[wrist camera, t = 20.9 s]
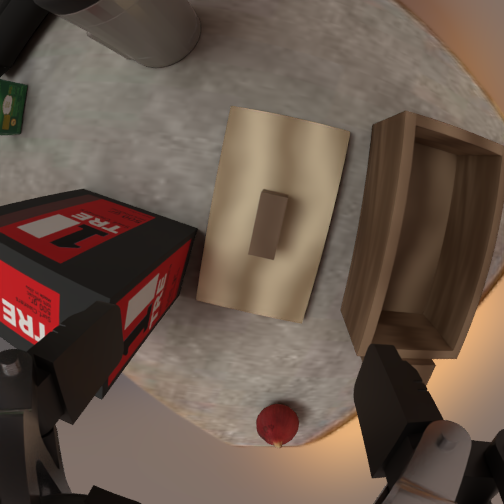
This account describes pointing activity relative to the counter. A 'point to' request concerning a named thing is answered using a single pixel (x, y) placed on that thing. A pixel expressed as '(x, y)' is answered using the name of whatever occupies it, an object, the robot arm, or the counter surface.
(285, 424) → the onion
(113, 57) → the counter surface
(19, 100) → the coffee box
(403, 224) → the brown open box piece
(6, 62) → the portable speaker
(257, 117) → the lid
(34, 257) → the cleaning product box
